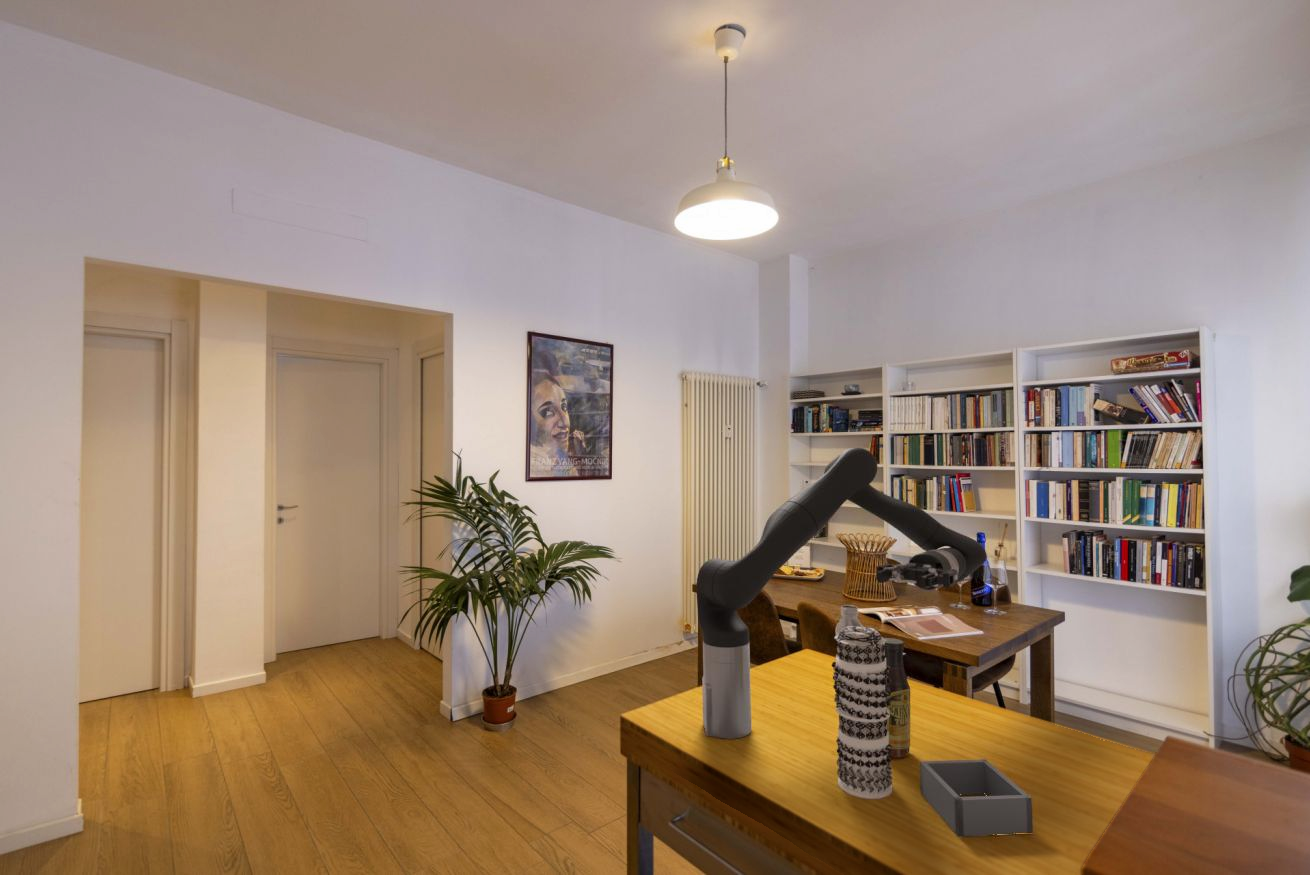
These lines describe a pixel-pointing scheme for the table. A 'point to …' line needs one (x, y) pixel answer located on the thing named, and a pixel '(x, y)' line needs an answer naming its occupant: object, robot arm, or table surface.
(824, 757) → the table surface
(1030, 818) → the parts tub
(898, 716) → the sauce bottle
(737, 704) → the robot arm
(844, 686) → the decorative candle
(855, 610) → the plastic bottle
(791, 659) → the table surface
